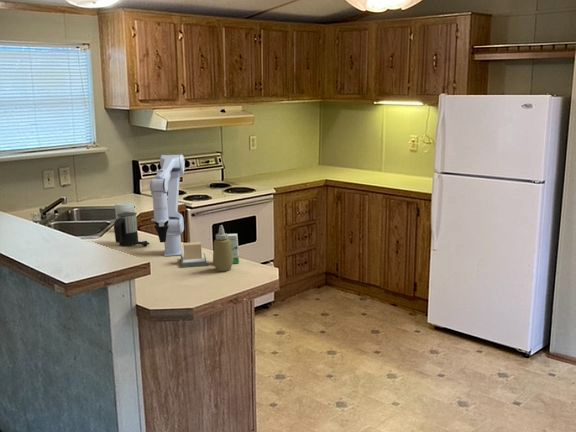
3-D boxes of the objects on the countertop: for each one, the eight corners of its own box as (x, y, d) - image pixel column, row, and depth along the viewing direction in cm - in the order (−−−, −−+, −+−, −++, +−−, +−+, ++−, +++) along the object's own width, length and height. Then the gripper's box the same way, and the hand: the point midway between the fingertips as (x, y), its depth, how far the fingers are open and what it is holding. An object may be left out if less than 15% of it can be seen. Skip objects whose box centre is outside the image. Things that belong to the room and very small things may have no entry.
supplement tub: (114, 231, 326) (111, 203, 323) (131, 228, 332) (129, 201, 329) (121, 234, 319) (119, 205, 316) (138, 231, 324) (136, 203, 321)
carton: (201, 255, 264) (200, 241, 263) (201, 258, 260) (201, 244, 259) (184, 256, 263) (183, 243, 262) (184, 259, 258) (183, 245, 257)
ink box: (239, 260, 262) (237, 232, 260) (238, 263, 257) (237, 235, 255) (218, 261, 262) (216, 233, 259) (217, 264, 257) (215, 236, 255)
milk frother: (122, 242, 302) (120, 211, 299) (155, 241, 301) (152, 211, 298) (113, 249, 288) (110, 217, 285) (147, 248, 287) (144, 217, 284)
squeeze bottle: (209, 271, 247) (207, 227, 243) (218, 266, 254) (216, 222, 251) (228, 273, 244) (225, 228, 241) (237, 267, 252) (234, 223, 248)
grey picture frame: (181, 258, 267) (180, 254, 267) (204, 257, 269) (204, 252, 269) (182, 267, 254) (181, 262, 254) (206, 265, 256) (206, 260, 255)
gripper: (150, 205, 263) (153, 236, 266) (150, 211, 249) (152, 244, 252) (167, 204, 264) (170, 235, 267) (168, 210, 250) (170, 243, 253)
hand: (162, 240), depth 259 cm, fingers open, 7 cm apart
